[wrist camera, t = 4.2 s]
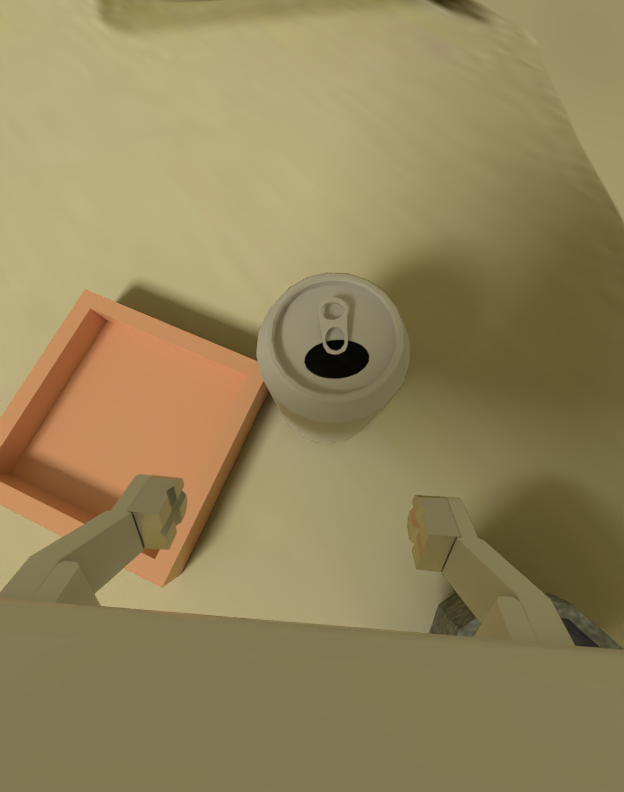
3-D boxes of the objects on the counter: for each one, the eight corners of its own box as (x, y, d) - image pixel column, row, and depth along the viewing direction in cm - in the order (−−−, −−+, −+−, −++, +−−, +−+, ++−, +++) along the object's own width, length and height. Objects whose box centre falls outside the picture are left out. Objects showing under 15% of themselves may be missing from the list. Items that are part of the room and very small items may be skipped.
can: (282, 449, 25) (253, 425, 14) (275, 355, 27) (245, 264, 15) (380, 439, 25) (436, 407, 14) (367, 347, 27) (406, 249, 16)
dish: (181, 574, 23) (162, 587, 20) (-1, 482, 25) (-43, 482, 22) (275, 378, 27) (270, 366, 24) (108, 308, 28) (85, 289, 25)
